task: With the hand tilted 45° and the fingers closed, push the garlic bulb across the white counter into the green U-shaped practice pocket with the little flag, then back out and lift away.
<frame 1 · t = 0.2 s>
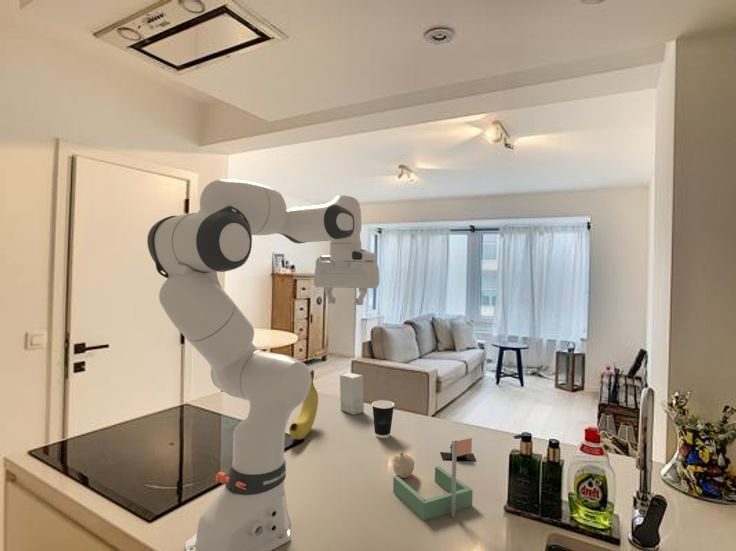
hand: (345, 304, 121), 48 cm above the counter, tool pointing down, fingers open, 8 cm apart
build plate: (458, 459, 133), on the counter
dixie cup: (382, 435, 149), on the counter
skincare box: (351, 411, 173), on the counter
practice pocket: (430, 498, 108), on the counter
garlic bulb: (403, 476, 120), on the counter
banana: (303, 434, 149), on the counter
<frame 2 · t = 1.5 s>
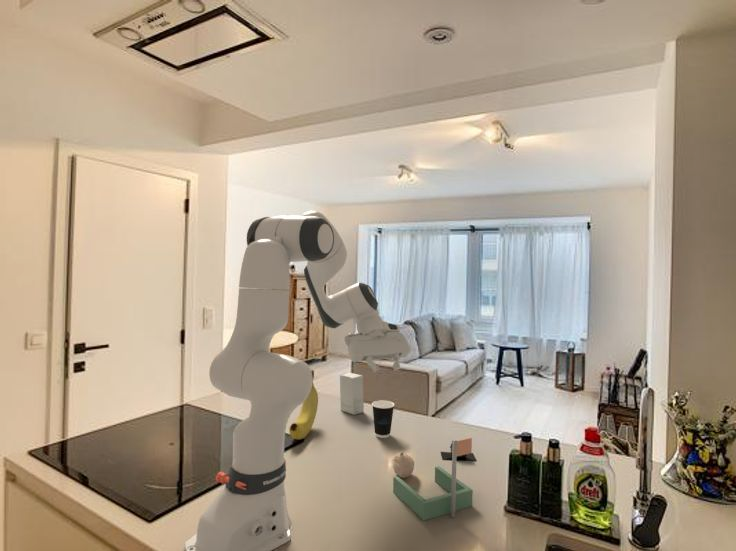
hand: (387, 369, 129), 27 cm above the counter, tool tilted 45°, fingers open, 6 cm apart
nothing on the counter moved.
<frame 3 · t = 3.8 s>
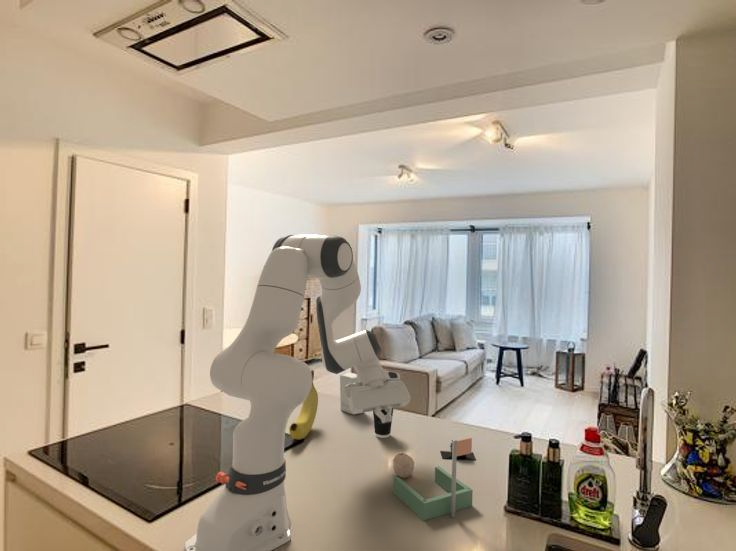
hand: (387, 421, 129), 12 cm above the counter, tool tilted 45°, fingers closed
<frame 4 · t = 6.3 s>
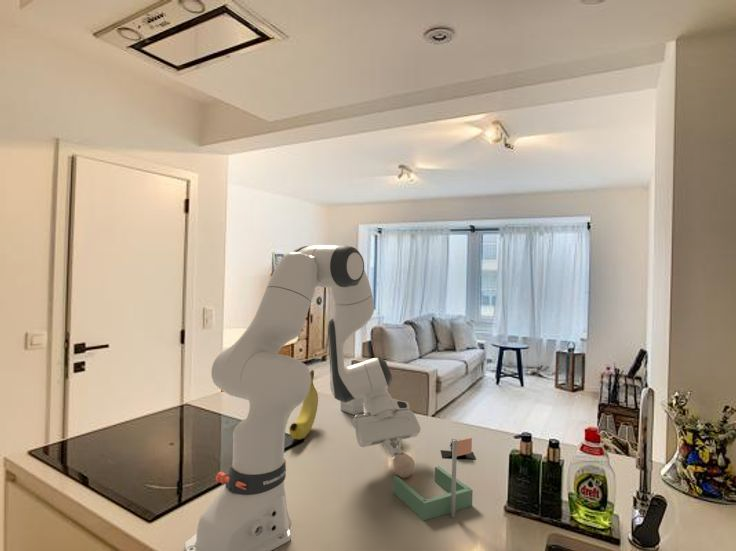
hand: (397, 455, 123), 4 cm above the counter, tool tilted 45°, fingers closed, pressing on garlic bulb
garlic bulb: (403, 476, 120), on the counter, touching gripper
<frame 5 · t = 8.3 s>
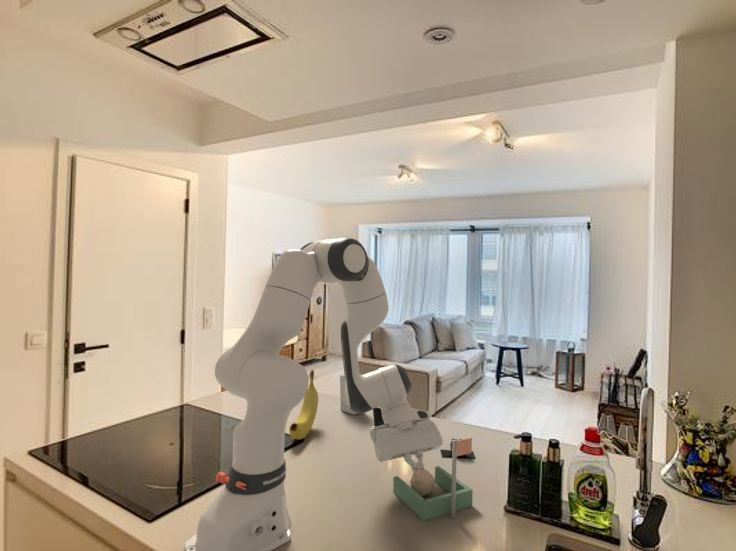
hand: (419, 470, 114), 4 cm above the counter, tool tilted 45°, fingers closed
garlic bulb: (422, 494, 111), on the counter, touching gripper
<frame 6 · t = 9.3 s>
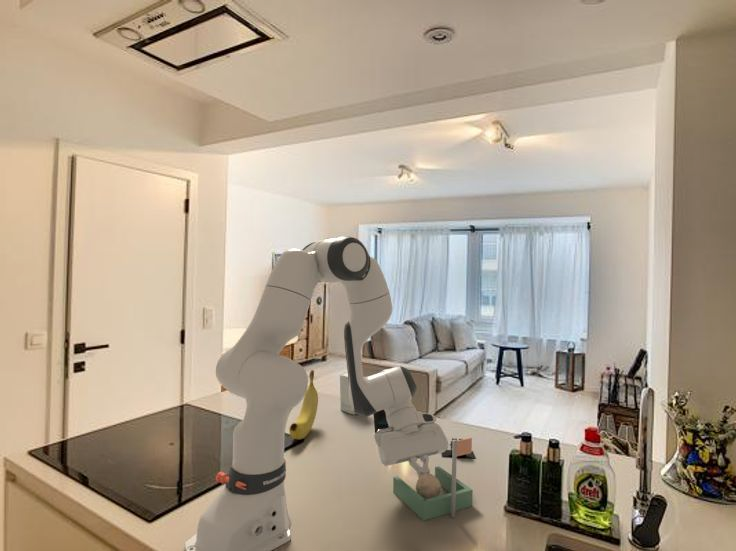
hand: (424, 474, 112), 4 cm above the counter, tool tilted 45°, fingers closed
garlic bulb: (427, 499, 108), on the counter, touching gripper
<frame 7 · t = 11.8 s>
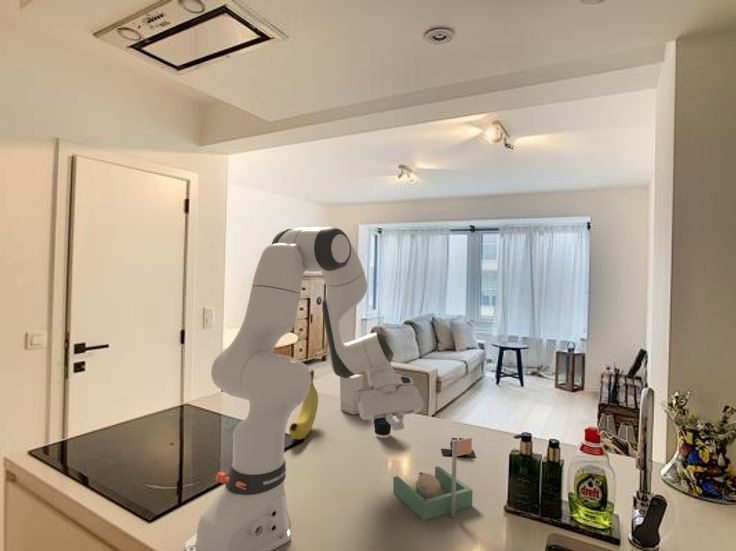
hand: (399, 429, 122), 12 cm above the counter, tool tilted 45°, fingers closed
garlic bulb: (427, 499, 108), on the counter
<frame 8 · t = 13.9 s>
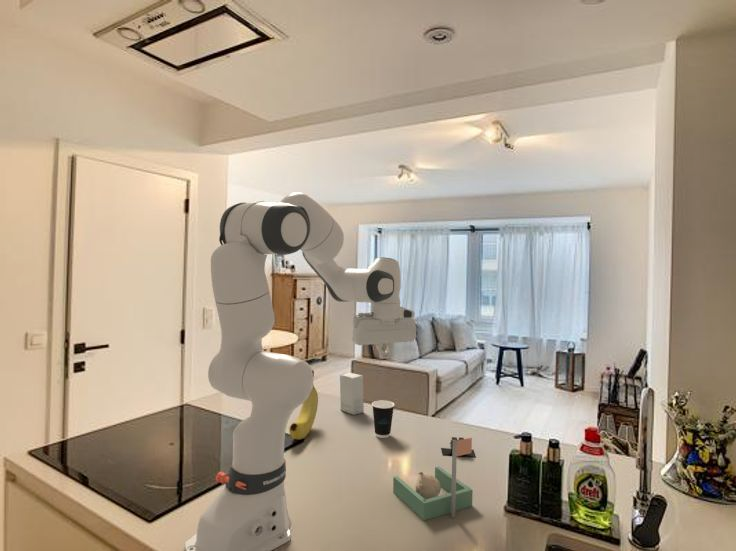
hand: (384, 357, 129), 31 cm above the counter, tool pointing down, fingers closed
at the end: garlic bulb inside the target area on the practice pocket (0.9 cm from its centre), point 0.0 cm above the practice pocket's base; the gripper is holding nothing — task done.
